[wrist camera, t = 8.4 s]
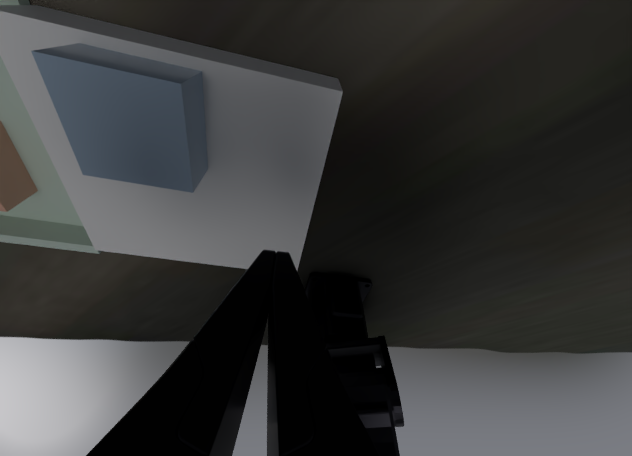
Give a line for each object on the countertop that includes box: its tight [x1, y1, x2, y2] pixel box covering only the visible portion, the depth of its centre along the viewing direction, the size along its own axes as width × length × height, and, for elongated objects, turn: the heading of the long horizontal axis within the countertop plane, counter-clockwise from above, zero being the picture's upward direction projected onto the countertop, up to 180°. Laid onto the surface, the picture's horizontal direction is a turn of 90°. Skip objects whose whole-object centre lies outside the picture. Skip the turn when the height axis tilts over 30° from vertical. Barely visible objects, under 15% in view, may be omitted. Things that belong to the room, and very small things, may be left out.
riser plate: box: [0, 5, 343, 270], centre depth 17 cm, size 14×15×3 cm
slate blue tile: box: [31, 43, 208, 193], centre depth 12 cm, size 5×5×2 cm
